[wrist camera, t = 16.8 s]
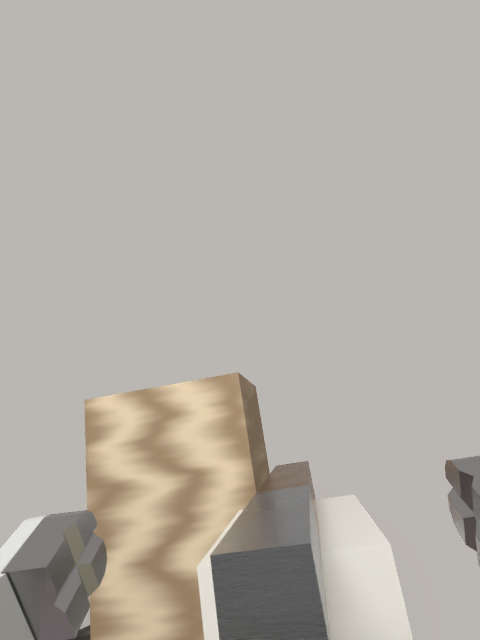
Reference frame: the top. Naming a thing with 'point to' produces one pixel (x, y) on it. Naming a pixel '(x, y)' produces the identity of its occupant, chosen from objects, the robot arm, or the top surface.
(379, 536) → the block
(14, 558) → the robot arm
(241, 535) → the brown and gray bar
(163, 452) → the stand
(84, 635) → the top surface
